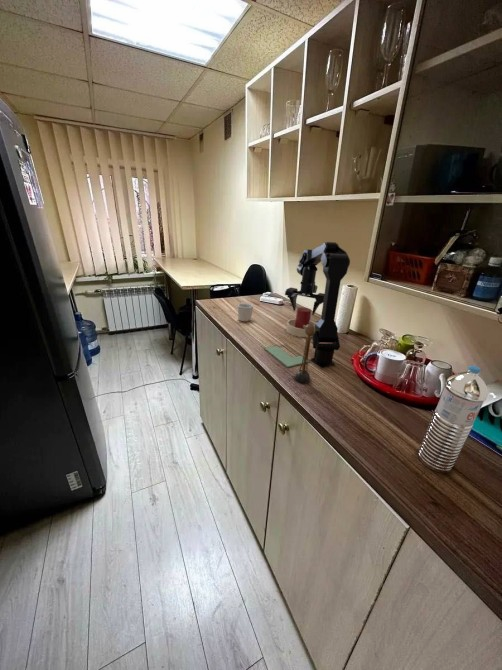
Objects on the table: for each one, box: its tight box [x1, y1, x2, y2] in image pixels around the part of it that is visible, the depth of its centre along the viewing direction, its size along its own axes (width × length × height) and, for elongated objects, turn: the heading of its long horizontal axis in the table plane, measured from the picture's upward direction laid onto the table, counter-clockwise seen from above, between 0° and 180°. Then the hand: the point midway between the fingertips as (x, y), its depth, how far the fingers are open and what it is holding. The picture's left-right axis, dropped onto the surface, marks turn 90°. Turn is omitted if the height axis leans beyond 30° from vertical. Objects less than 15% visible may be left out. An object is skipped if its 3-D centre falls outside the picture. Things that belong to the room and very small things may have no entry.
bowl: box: [285, 318, 316, 338], centre depth 130 cm, size 14×14×4 cm
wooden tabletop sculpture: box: [294, 324, 315, 384], centre depth 89 cm, size 6×5×20 cm
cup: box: [237, 302, 254, 322], centre depth 141 cm, size 11×8×8 cm
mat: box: [264, 345, 310, 368], centre depth 107 cm, size 16×10×1 cm, turn 29°
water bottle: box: [417, 364, 489, 474], centre depth 58 cm, size 7×7×25 cm
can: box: [295, 306, 313, 329], centre depth 128 cm, size 7×7×11 cm
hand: (303, 312), depth 127 cm, fingers open, 9 cm apart
